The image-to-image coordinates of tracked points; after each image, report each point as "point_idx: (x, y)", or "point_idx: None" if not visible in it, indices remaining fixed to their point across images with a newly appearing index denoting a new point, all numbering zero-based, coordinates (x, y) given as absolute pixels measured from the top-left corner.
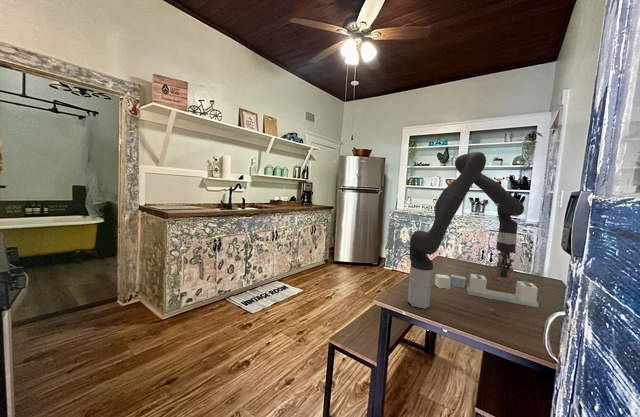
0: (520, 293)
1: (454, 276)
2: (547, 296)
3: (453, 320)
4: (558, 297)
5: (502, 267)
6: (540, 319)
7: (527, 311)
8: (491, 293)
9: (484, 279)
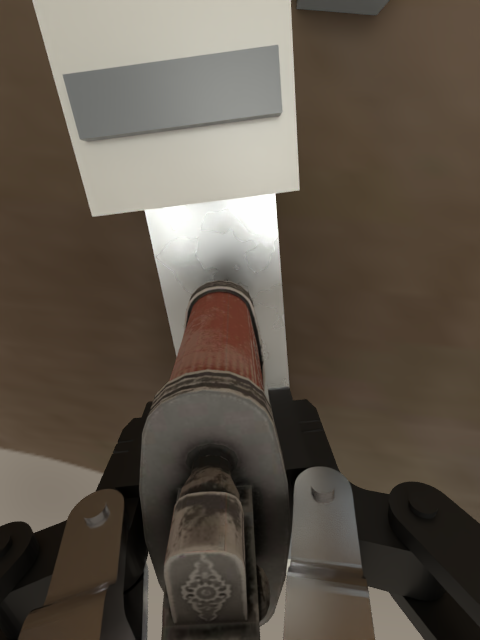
0: None
1: None
2: None
3: None
4: None
5: (59, 545)
6: (32, 453)
7: (100, 419)
8: (192, 254)
9: (96, 185)
